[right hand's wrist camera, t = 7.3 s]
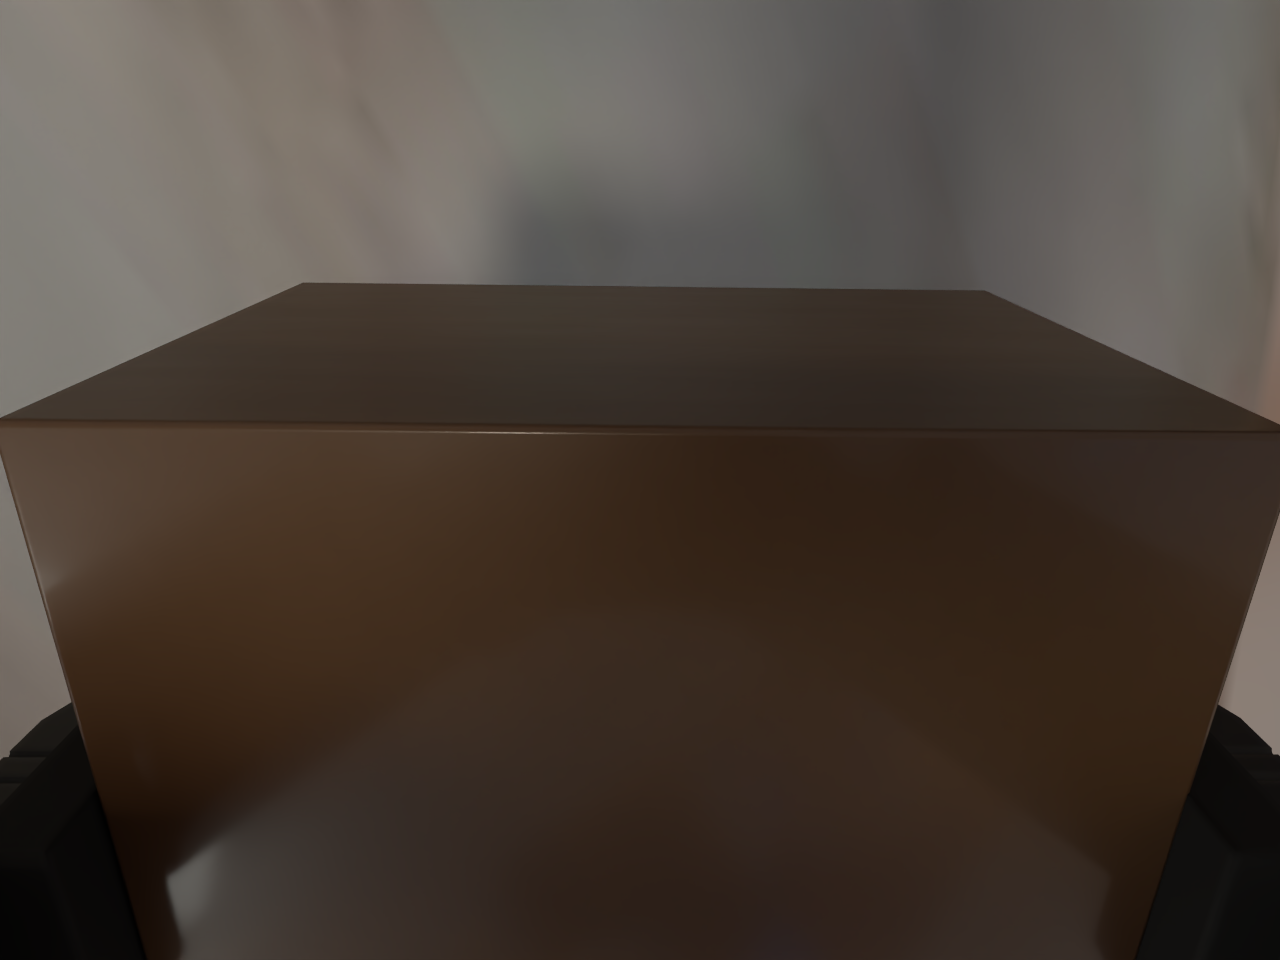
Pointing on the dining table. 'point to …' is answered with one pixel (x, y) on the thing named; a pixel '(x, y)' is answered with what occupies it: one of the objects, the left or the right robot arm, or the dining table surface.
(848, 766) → the thick board
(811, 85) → the dining table surface
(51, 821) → the right robot arm
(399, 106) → the dining table surface
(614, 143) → the dining table surface
